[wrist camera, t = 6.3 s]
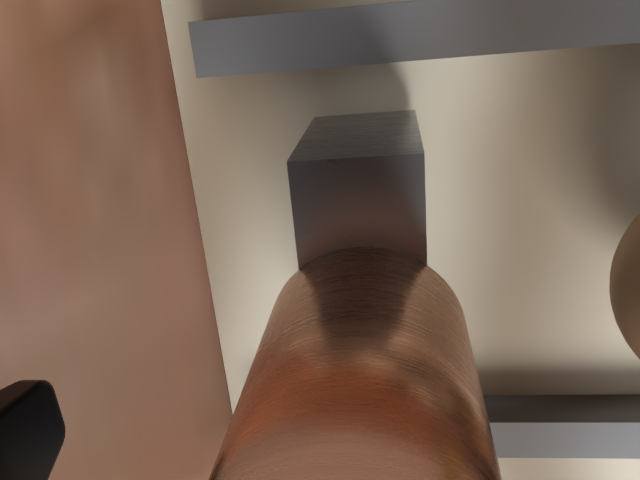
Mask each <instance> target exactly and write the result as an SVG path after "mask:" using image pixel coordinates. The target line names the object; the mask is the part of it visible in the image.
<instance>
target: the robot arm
mask: <svg viewBox="0 0 640 480" xmlns="http://www.w3.org/2000/svg"><path fill="white" fill-rule="evenodd" d="M64 438H65V424H64V421H63V417H62V414H61V411H60V407H59V404H58V401H57V398H56V394H55V391H54V388H53V386H52V385H51V384H50V383H49V382H48V381H46V380H21V381H18V382H15V383H13V384H11V385H9V386H7V387H5V388H3V389H1V390H0V480H48V478H49V476H50V473H51V471H52V469H53V466H54V464H55V461H56V459H57V457H58V454H59V452H60V450H61V447H62V445H63V442H64Z"/></svg>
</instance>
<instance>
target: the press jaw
mask: <svg viewBox="0 0 640 480" xmlns="http://www.w3.org/2000/svg"><path fill="white" fill-rule="evenodd" d="M287 170H288V179H289V188H290V197H291V206H292V215H293V224H294V233H295V242H296V251H297V259H298V268H299V270H298V271H297V272H296V273H295V274H294V275H293V276H291V278H290V279H289V280H288V281H287V283H286V284H285V285H284V286H283V288H282V290H281V291H280V293H279V295H278V297H277V299H276V302H275V304H274V307H273V309H272V312H271V315H270V317H269V320H268V323H267V325H266V328H265V331H264V333H263V336H262V339H261V341H260V344H259V347H258V349H257V352H256V355H255V357H254V360H253V363H252V365H251V368H250V371H249V373H248V376H247V379H246V381H245V384H244V387H243V389H242V392H241V395H240V397H239V400H238V403H237V406H236V408H235V411H234V414H233V416H232V419H231V422H230V424H229V427H228V430H227V432H226V435H225V438H224V440H223V443H222V446H221V448H220V451H219V454H218V456H217V459H216V462H215V464H214V467H213V470H212V472H211V475H210V478H209V480H502V476H501V471H500V467H499V463H498V458H497V454H496V450H495V446H494V441H493V437H492V433H491V428H490V424H489V420H488V415H487V411H486V407H485V402H484V398H483V394H482V389H481V385H480V381H479V376H478V372H477V368H476V364H475V359H474V355H473V351H472V346H471V342H470V338H469V333H468V329H467V325H466V320H465V316H464V312H463V309H462V307H461V304H460V302H459V300H458V298H457V296H456V295H455V293H454V291H453V290H452V289H451V287H450V286H449V285H448V283H447V282H446V281H445V280H444V279H443V278H442V277H441V276H440V275H439V274H438V273H437V272H436V271H434V270H433V269H432V268H430V267H429V266H428V265H427V235H426V194H425V153H424V149H423V144H422V139H421V135H420V130H419V126H418V121H417V116H416V112H415V110H406V111H391V112H377V113H363V114H349V115H334V116H320V117H314V118H313V120H312V121H311V123H310V125H309V126H308V128H307V130H306V131H305V133H304V134H303V136H302V138H301V139H300V141H299V142H298V144H297V146H296V147H295V149H294V150H293V152H292V154H291V155H290V157H289V158H288V160H287Z"/></svg>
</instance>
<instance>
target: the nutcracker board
mask: <svg viewBox="0 0 640 480" xmlns="http://www.w3.org/2000/svg"><path fill="white" fill-rule="evenodd" d="M161 5H162V11H163V17H164V22H165V28H166V34H167V40H168V45H169V51H170V57H171V63H172V68H173V74H174V80H175V85H176V91H177V97H178V103H179V108H180V114H181V120H182V126H183V131H184V137H185V143H186V149H187V154H188V160H189V166H190V171H191V177H192V183H193V189H194V194H195V200H196V206H197V212H198V217H199V223H200V229H201V235H202V240H203V246H204V252H205V257H206V263H207V269H208V275H209V280H210V286H211V292H212V298H213V303H214V309H215V315H216V321H217V326H218V332H219V338H220V343H221V349H222V355H223V361H224V366H225V372H226V378H227V384H228V389H229V395H230V401H231V407H232V412H233V414H234V411H235V408H236V406H237V403H238V400H239V397H240V395H241V392H242V389H243V387H244V384H245V381H246V379H247V376H248V373H249V371H250V368H251V365H252V363H253V360H254V357H255V355H256V352H257V349H258V347H259V344H260V341H261V339H262V336H263V333H264V331H265V328H266V325H267V323H268V320H269V317H270V315H271V312H272V309H273V307H274V304H275V302H276V299H277V297H278V295H279V293H280V291H281V290H282V288H283V286H284V285H285V284H286V283H287V281H288V280H289V279H290V278H291V276H293V275H294V274H295V273H296V272H297V271H298V270H299V268H298V259H297V251H296V242H295V233H294V224H293V215H292V206H291V197H290V188H289V179H288V170H287V160H288V158H289V157H290V155H291V154H292V152H293V150H294V149H295V147H296V146H297V144H298V142H299V141H300V139H301V138H302V136H303V134H304V133H305V131H306V130H307V128H308V126H309V125H310V123H311V121H312V120H313V118H314V117H320V116H334V115H349V114H363V113H377V112H391V111H406V110H415V112H416V116H417V121H418V126H419V130H420V135H421V139H422V144H423V149H424V153H425V194H426V235H427V265H428V266H429V267H430V268H432V269H433V270H434V271H436V272H437V273H438V274H439V275H440V276H441V277H442V278H443V279H444V280H445V281H446V282H447V283H448V285H449V286H450V287H451V289H452V290H453V291H454V293H455V295H456V296H457V298H458V300H459V302H460V304H461V307H462V309H463V312H464V316H465V320H466V325H467V329H468V333H469V338H470V342H471V346H472V351H473V355H474V359H475V364H476V368H477V372H478V376H479V381H480V385H481V389H482V394H483V398H484V402H485V407H486V411H487V415H488V420H489V424H490V428H491V433H492V437H493V441H494V446H495V450H496V454H497V458H498V463H499V467H500V471H501V476H502V480H640V359H639V358H638V357H637V356H636V355H635V354H634V352H633V351H632V350H631V348H630V347H629V345H628V344H627V343H626V341H625V339H624V337H623V335H622V333H621V331H620V329H619V327H618V325H617V323H616V320H615V317H614V314H613V310H612V306H611V301H610V293H609V284H610V270H611V264H612V260H613V257H614V254H615V251H616V248H617V246H618V244H619V242H620V240H621V238H622V236H623V234H624V233H625V231H626V230H627V228H628V227H629V225H630V224H631V222H632V221H633V220H634V219H635V218H636V217H637V215H638V214H639V213H640V0H161Z"/></svg>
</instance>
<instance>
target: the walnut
mask: <svg viewBox="0 0 640 480" xmlns="http://www.w3.org/2000/svg"><path fill="white" fill-rule="evenodd" d="M609 293H610V301H611V306H612V310H613V314H614V317H615V320H616V323H617V325H618V327H619V329H620V331H621V333H622V335H623V337H624V339H625V341H626V343H627V344H628V345H629V347H630V348H631V350H632V351H633V352H634V354H635V355H636V356H637V357H638V358H639V359H640V213H639V214H638V215H637V217H636V218H635V219H634V220H633V221H632V222H631V224H630V225H629V227H628V228H627V230H626V231H625V233H624V234H623V236H622V238H621V240H620V242H619V244H618V246H617V248H616V251H615V254H614V257H613V260H612V264H611V270H610V284H609Z"/></svg>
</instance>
